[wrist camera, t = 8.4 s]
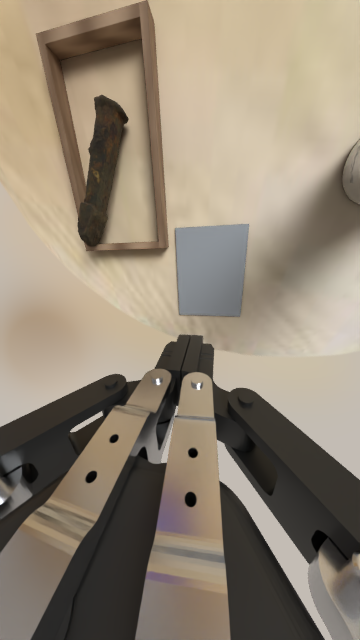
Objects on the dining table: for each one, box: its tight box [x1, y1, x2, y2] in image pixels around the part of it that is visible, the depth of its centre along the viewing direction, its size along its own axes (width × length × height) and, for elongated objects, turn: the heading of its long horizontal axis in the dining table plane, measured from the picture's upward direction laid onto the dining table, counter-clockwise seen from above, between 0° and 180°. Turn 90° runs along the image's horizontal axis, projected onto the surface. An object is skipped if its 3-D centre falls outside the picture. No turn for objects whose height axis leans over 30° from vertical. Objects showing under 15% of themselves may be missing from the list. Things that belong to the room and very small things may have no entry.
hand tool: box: [78, 95, 128, 247], centre depth 28 cm, size 19×4×5 cm, turn 159°
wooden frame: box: [36, 0, 169, 251], centre depth 29 cm, size 15×26×2 cm, turn 3°
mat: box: [175, 224, 249, 317], centre depth 34 cm, size 12×16×1 cm
